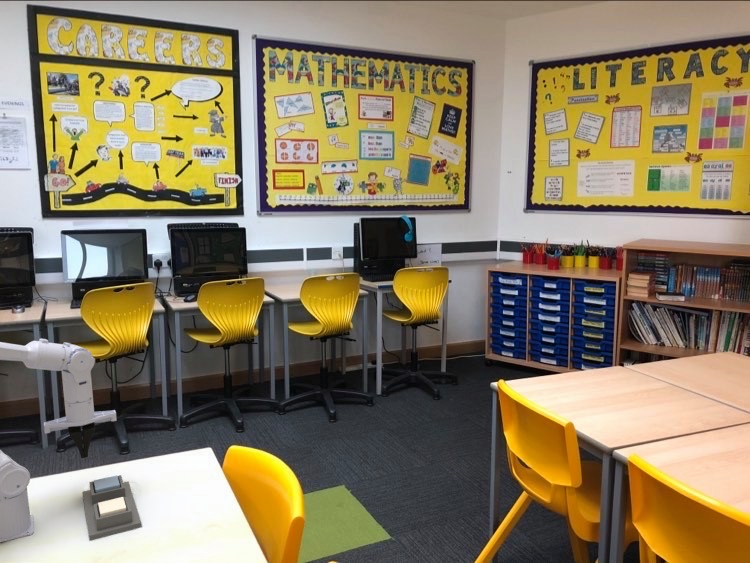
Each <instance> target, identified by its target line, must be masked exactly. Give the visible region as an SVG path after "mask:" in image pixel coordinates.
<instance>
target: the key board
mask: <svg viewBox="0 0 750 563" xmlns="http://www.w3.org/2000/svg"><path fill="white" fill-rule="evenodd" d="M117 476H118V480H119V483H120V488H117V489H112V490H108V491H104V492H99V493H95V489H94V480H92V481H89V490H85V491H82V499H83V500H82V501H83V506H84V512H85V513H84V514H85V520H86V521H85V522H86V526H87V527H86V528H87V532H88V538H89V541H92V540H96V539H100V538H103V537H108V536H112V535H116V534H119V533H124V532H127V531H131V530H135V529H139V528H142V525H143V524H142V521H141V518H140V517H141V516H140V515H139V514H140V513H139V511H138V508H137V504H136V501H135V498H134V494H133V492H132V489H131V485H130V482H129V481H123V476H122V474H120V475H117ZM120 497H123V498H124V502H125V505H126V511H124V512H120V513H116V514H112V515H108V516H104V517H100V514H99V507H98V503H99V502H104V501H108V500H112V499H116V498H120Z"/></svg>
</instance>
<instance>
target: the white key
mask: <svg viewBox="0 0 750 563" xmlns="http://www.w3.org/2000/svg"><path fill="white" fill-rule="evenodd" d="M98 507H99V514H100V517H104V516H108V515H112V514H116V513H120V512H124V511H126V505H125V502H124V498H123V497H120V498H116V499H112V500H108V501H104V502H99V503H98Z"/></svg>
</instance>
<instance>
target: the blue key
mask: <svg viewBox="0 0 750 563" xmlns="http://www.w3.org/2000/svg"><path fill="white" fill-rule="evenodd" d="M118 476H119V475H111V476H108V477H104V478H99V479H94V480H93V481H94V489H95V493H99V492H104V491H108V490H112V489H117V488H120V483H119V480H118Z"/></svg>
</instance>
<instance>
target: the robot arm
mask: <svg viewBox="0 0 750 563" xmlns="http://www.w3.org/2000/svg"><path fill="white" fill-rule="evenodd" d="M0 361H11V362H13V361H14V362H22V363H23V364H24V366H25V367H26V368H27V369H35V370H43V371H44V370H45V371H46V370H47V371H53V372H54V371H56V372H60V371H61V379H62V387H63V389H62V391H63V398H64V400H63V401H64V409H65V416H63V417H60V418H55V419H53V420H48V421H43V430H44V434H45V435H46V434H51V432H55V431H62V430H68V434H69V437H70V438H71V439H72V441H73V442H74V444H75V445H76V447H77V449H78V452H79V454H80V458H81V459H85V458H88V457H89V450H90V449H89V448H90V444H91V441H92V438H93V435H94V434H95V431H96V425H95V424H99V423H106V422H117V419H118V418H117V412H116V410H115V409H113V410H103V411H101V410H100V411H95V407H94V394H93V384H92V372H91V371H92V369H93V367H94V366H95V362H96V359H95V357H93V354H92V352H91V351H90V350H89V349H87V348H84V347H82V346H79V345H76V344H72V343H71V342H63V343H54V342H49V340H48V339H46V338H39V340H32V341H30V342H28V343H27V344H26V345H22V344H15V343H9V342H2V341H0ZM30 481H31V473H30V472H29V469H27V468H26V467H25V466H23V465H20V464H19V463H17V461H15V460H14V459H12V457H11V456H9V455H8V454H5V453H4V452H3V451H2V449H0V543H2V542H6V541H7V542H8V541H11V540H15V539H19V538H23V537H27V536H31V535H33V534H34V514H31V512H30V503H29V496H28V486H29V484H30Z"/></svg>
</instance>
